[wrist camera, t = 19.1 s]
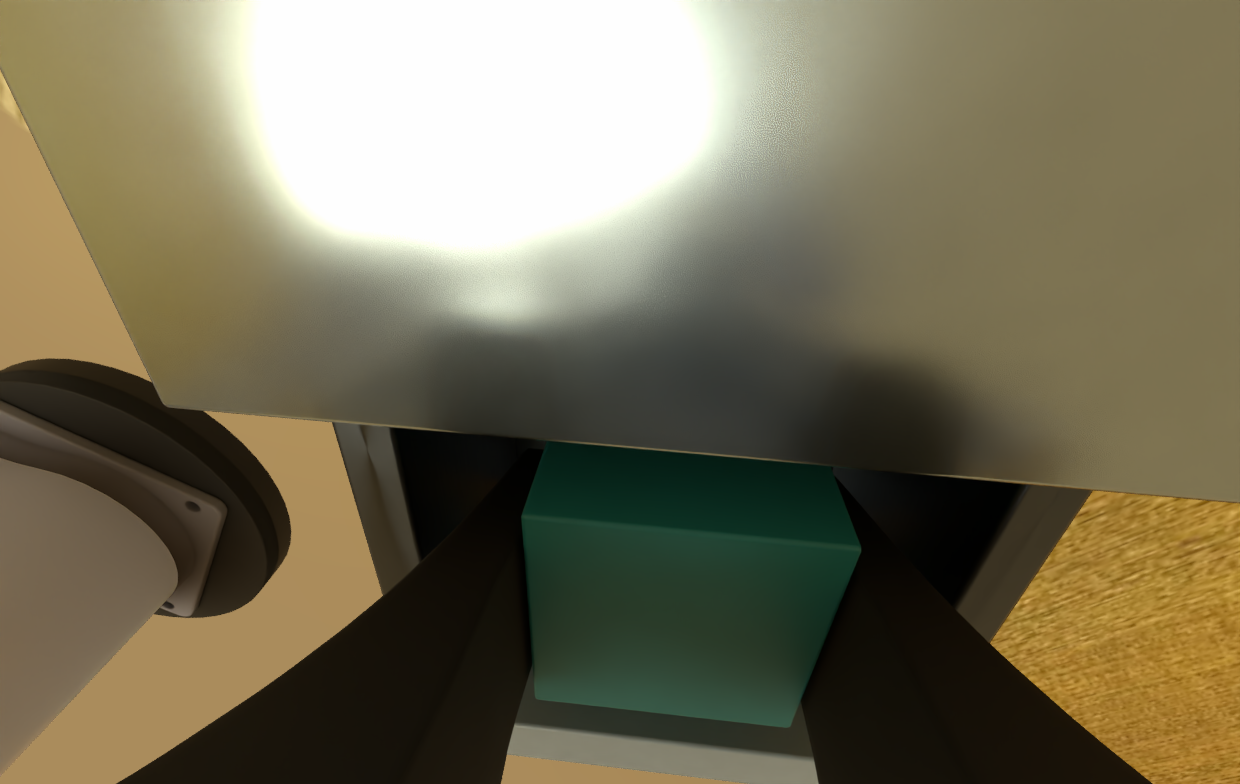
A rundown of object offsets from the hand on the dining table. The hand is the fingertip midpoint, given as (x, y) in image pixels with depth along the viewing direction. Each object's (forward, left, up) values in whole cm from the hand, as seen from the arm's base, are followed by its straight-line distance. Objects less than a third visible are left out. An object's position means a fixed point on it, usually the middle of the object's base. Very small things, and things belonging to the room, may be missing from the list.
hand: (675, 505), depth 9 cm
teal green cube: (0, 0, -1) cm, 1 cm away
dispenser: (-5, +9, -5) cm, 11 cm away
